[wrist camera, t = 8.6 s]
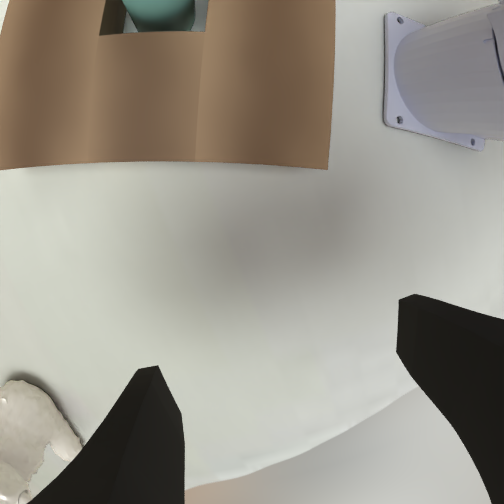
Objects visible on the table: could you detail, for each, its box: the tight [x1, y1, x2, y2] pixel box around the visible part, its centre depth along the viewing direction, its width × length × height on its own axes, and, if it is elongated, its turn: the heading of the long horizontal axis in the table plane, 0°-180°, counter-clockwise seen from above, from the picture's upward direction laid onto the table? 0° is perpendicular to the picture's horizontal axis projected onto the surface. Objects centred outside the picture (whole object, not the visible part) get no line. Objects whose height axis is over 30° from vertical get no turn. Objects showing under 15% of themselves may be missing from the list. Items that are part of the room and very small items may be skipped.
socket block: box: [0, 0, 335, 170], centre depth 12 cm, size 16×16×4 cm
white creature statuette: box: [0, 380, 82, 504], centre depth 14 cm, size 10×9×12 cm
